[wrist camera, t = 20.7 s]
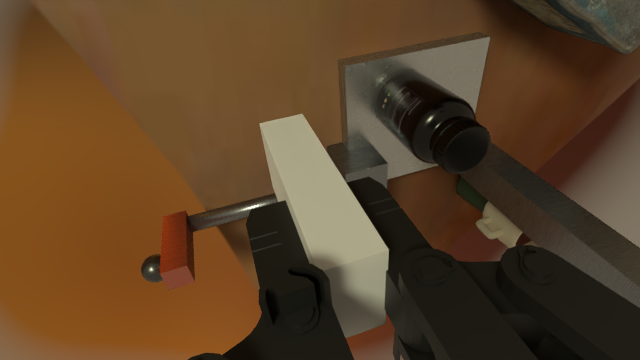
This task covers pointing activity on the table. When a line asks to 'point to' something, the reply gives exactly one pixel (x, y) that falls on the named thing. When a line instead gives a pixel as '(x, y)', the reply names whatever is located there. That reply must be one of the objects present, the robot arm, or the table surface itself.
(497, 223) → the character mug
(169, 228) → the lever
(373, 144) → the press
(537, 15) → the metal box
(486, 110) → the table surface
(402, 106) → the supplement bottle
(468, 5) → the table surface
